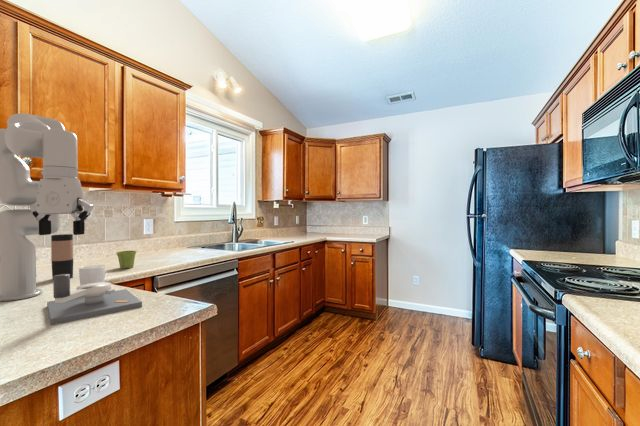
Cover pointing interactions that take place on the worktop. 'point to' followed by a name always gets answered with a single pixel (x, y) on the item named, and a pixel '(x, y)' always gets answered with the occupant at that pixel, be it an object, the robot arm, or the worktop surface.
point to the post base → (91, 306)
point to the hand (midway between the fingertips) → (62, 234)
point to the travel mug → (62, 254)
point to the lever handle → (77, 289)
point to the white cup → (92, 274)
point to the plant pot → (126, 259)
